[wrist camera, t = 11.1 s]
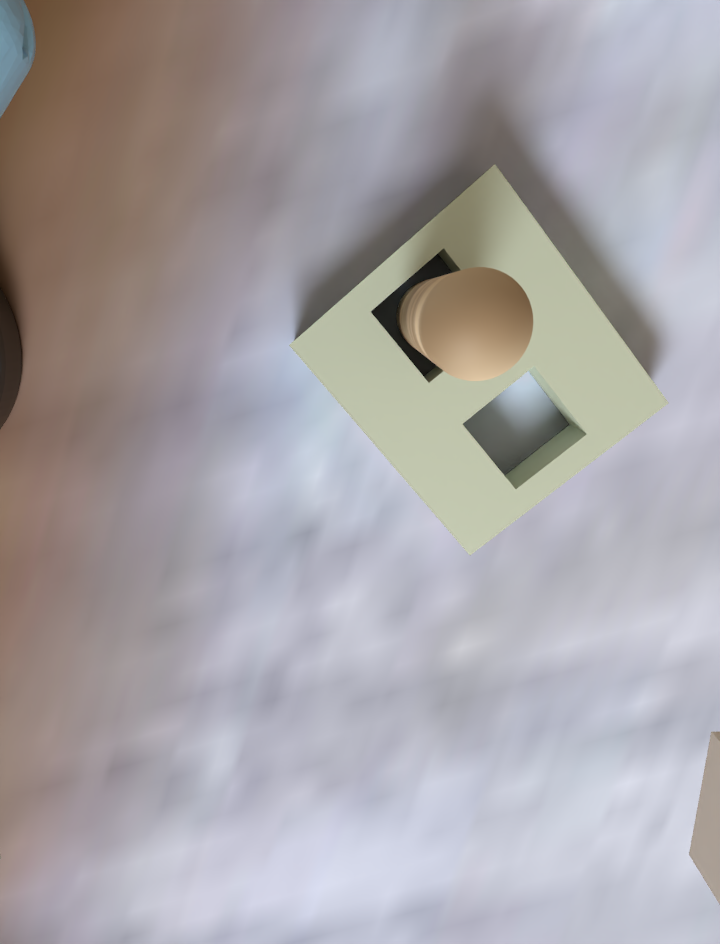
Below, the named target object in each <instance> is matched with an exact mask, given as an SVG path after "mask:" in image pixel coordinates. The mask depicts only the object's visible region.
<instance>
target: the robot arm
mask: <svg viewBox="0 0 720 944" xmlns="http://www.w3.org/2000/svg"><path fill="white" fill-rule="evenodd" d="M35 49H36V40H35V31H34V27H33V23H32V19H31V16H30V13H29V11H28V8H27V6H26V4H25V2H24V0H0V118H1V116H2V115H3V113H4V111H5V110H6V108H7V106H8V105H9V103H10V101H11V100H12V98H13V96H14V95H15V93H16V91H17V90H18V88H19V87H20V85H21V83H22V82H23V80H24V78H25V77H26V75H27V74H28V72H29V70H30V68H31V66H32V63H33V60H34V56H35ZM21 364H22V359H21V346H20V339H19V334H18V329H17V326H16V322H15V319H14V316H13V313H12V311H11V308H10V306H9V303H8V301H7V299H6V297H5V295H4V293H3V291H2V290H1V288H0V429H1V427H2V426H3V424H4V423H5V421H6V420H7V418H8V416H9V414H10V412H11V410H12V408H13V405H14V403H15V400H16V397H17V393H18V389H19V384H20V378H21ZM689 855H690V857H691V858H692V860H693V862H694V863H695V865H696V867H697V868H698V870H699V871H700V873H701V875H702V876H703V878H704V880H705V881H706V883H707V885H708V886H709V888H710V889H711V891H712V893H713V894H714V896H715V898H716V899H717V901H718V903H719V904H720V732H711V736H710V742H709V747H708V753H707V758H706V764H705V769H704V775H703V780H702V786H701V791H700V797H699V803H698V808H697V814H696V819H695V825H694V830H693V836H692V841H691V847H690V852H689ZM0 859H1V856H0Z"/></svg>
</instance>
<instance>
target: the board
mask: <svg viewBox="0 0 720 944" xmlns="http://www.w3.org/2000/svg"><path fill="white" fill-rule="evenodd" d="M437 254H438V255H439V256H440V257H441V258H442V260H443V261H444V262H445V264H446V265H447V266H448V267H449V269H450V270H451V271H452V273H453V272H457V271H460V270H464V269H468V268H473V267H487V268H493V269H496V270H499V271H501V272H504V273H506V274H507V275H509V276H510V277H512V278H513V279H514V280H515V281H517V282H518V283H519V285H520V286H521V287H522V288H523V290H524V291H525V293H526V294H527V297H528V299H529V301H530V304H531V307H532V312H533V331H532V336H531V339H530V342H529V345H528V347H527V349H526V351H525V353H524V354H523V356H522V357H521V358H520V360H519V361H518V362H517V363H516V364H515V365H514V366H513V367H512V368H511V369H509V370H508V371H506V372H505V373H503V374H501V375H499V376H497V377H495V378H492V379H488V380H483V381H467V380H462V379H459V378H456V377H453V376H451V375H449V374H448V373H446V372H444V371H443V370H442V369H441V368H439V367H438V366H436V367H435V368H433V369H432V370H431V371H430V372H429V373H427V374H426V375H425V376H423V375H422V374H421V373H420V372H419V370H418V369H417V368H416V367H415V365H414V364H413V363H412V362H411V361H410V359H409V358H408V357H407V356H406V354H405V353H404V352H403V351H402V349H401V348H400V347H399V346H398V345H397V343H396V342H395V341H394V340H393V338H392V337H391V336H390V335H389V334H388V332H387V331H386V330H385V329H384V327H383V326H382V325H381V324H380V323H379V321H378V320H377V319H376V318H375V316H374V315H373V314H372V313H371V311H372V310H373V309H374V308H375V307H377V306H378V305H379V304H380V303H381V302H382V301H383V300H385V299H386V298H387V297H388V296H389V295H390V294H392V293H393V292H394V291H395V290H396V289H397V288H398V287H400V286H401V285H402V284H403V283H404V282H405V281H407V280H408V279H409V278H410V277H411V276H412V275H413V274H415V273H416V272H417V271H418V270H419V269H420V268H422V267H423V266H424V265H425V264H426V263H427V262H428V261H430V260H431V259H432V258H433V257H434V256H435V255H437ZM289 346H290V347H291V348H292V349H293V350H294V351H295V353H296V354H297V355H298V356H299V357H300V358H301V360H302V361H303V362H304V363H305V364H306V365H307V367H308V368H309V369H310V370H311V371H312V372H313V373H314V375H315V376H316V377H317V378H318V379H319V380H320V382H321V383H322V384H323V385H324V386H325V387H326V389H327V390H328V391H329V392H330V393H331V394H332V396H333V397H334V398H335V399H336V400H337V401H338V403H339V404H340V405H341V406H342V407H343V408H344V410H345V411H346V412H347V413H348V414H349V415H350V417H351V418H352V419H353V420H354V421H355V422H356V424H357V425H358V426H359V427H360V428H361V429H362V430H363V432H364V433H365V434H366V435H367V436H368V437H369V439H370V440H371V441H372V442H373V443H374V444H375V446H376V447H377V448H378V449H379V450H380V451H381V453H382V454H383V455H384V456H385V457H386V458H387V460H388V461H389V462H390V463H391V464H392V465H393V467H394V468H395V469H396V470H397V471H398V472H399V474H400V475H401V476H402V477H403V478H404V479H405V481H406V482H407V483H408V484H409V485H410V486H411V487H412V489H413V490H414V491H415V492H416V493H417V494H418V496H419V497H420V498H421V499H422V500H423V501H424V503H425V504H426V505H427V506H428V507H429V508H430V510H431V511H432V512H433V513H434V514H435V515H436V517H437V518H438V519H439V520H440V521H441V522H442V524H443V525H444V526H445V527H446V528H447V529H448V531H449V532H450V533H451V534H452V535H453V536H454V538H455V539H456V540H457V541H458V542H459V543H460V544H461V546H462V547H463V548H464V549H465V550H466V551H467V553H468V554H469V555H471V554H472V553H474V552H475V551H476V550H478V549H479V548H480V547H482V546H483V545H484V544H486V543H487V542H488V541H489V540H491V539H492V538H493V537H495V536H496V535H497V534H499V533H500V532H501V531H502V530H504V529H505V528H506V527H508V526H509V525H510V524H512V523H513V522H514V521H516V520H517V519H518V518H519V517H521V516H522V515H523V514H525V513H526V512H527V511H529V510H530V509H531V508H532V507H534V506H535V505H536V504H538V503H539V502H540V501H542V500H543V499H544V498H545V497H547V496H548V495H549V494H551V493H552V492H553V491H555V490H556V489H557V488H559V487H560V486H561V485H562V484H564V483H565V482H566V481H568V480H569V479H570V478H572V477H573V476H574V475H575V474H577V473H578V472H579V471H581V470H582V469H583V468H585V467H586V466H587V465H589V464H590V463H591V462H592V461H594V460H595V459H596V458H598V457H599V456H600V455H602V454H603V453H604V452H605V451H607V450H608V449H609V448H611V447H612V446H613V445H615V444H616V443H617V442H618V441H620V440H621V439H622V438H624V437H625V436H626V435H628V434H629V433H630V432H632V431H633V430H634V429H635V428H637V427H638V426H639V425H641V424H642V423H643V422H645V421H646V420H647V419H648V418H650V417H651V416H652V415H654V414H655V413H656V412H658V411H659V410H660V409H662V408H663V407H664V406H665V405H667V404H668V401H667V400H666V399H665V397H664V396H663V395H662V393H661V392H660V390H659V389H658V388H657V386H656V385H655V384H654V382H653V381H652V379H651V378H650V377H649V375H648V374H647V373H646V371H645V370H644V368H643V367H642V366H641V364H640V363H639V362H638V360H637V359H636V357H635V356H634V355H633V353H632V352H631V351H630V349H629V348H628V346H627V345H626V344H625V342H624V341H623V340H622V338H621V337H620V335H619V334H618V333H617V331H616V330H615V329H614V327H613V326H612V324H611V323H610V322H609V320H608V319H607V318H606V316H605V315H604V313H603V312H602V311H601V309H600V308H599V306H598V305H597V304H596V302H595V301H594V300H593V298H592V297H591V295H590V294H589V293H588V291H587V290H586V289H585V287H584V286H583V284H582V283H581V282H580V280H579V279H578V278H577V276H576V275H575V273H574V272H573V271H572V269H571V268H570V267H569V265H568V264H567V262H566V261H565V260H564V258H563V257H562V256H561V254H560V253H559V251H558V250H557V249H556V247H555V246H554V245H553V243H552V242H551V240H550V239H549V238H548V236H547V235H546V234H545V232H544V231H543V229H542V228H541V227H540V225H539V224H538V223H537V221H536V220H535V218H534V217H533V216H532V214H531V213H530V212H529V210H528V209H527V207H526V206H525V205H524V203H523V202H522V201H521V199H520V198H519V196H518V195H517V194H516V192H515V191H514V189H513V188H512V187H511V185H510V184H509V183H508V181H507V180H506V178H505V177H504V176H503V174H502V173H501V172H500V170H499V169H498V167H497V166H496V165H495V164H494V165H493V166H492V167H491V168H490V169H489V170H488V171H487V172H485V173H484V174H483V175H482V176H481V177H480V178H479V179H477V180H476V181H475V182H474V183H473V184H472V185H471V186H469V187H468V188H467V189H466V190H465V191H464V192H463V193H462V194H460V195H459V196H458V197H457V198H456V199H455V200H454V201H452V202H451V203H450V204H449V205H448V206H447V207H446V208H444V209H443V210H442V211H441V212H440V213H439V214H438V215H437V216H435V217H434V218H433V219H432V220H431V221H430V222H429V223H427V224H426V225H425V226H424V227H423V228H422V229H421V230H419V231H418V232H417V233H416V234H415V235H414V236H413V237H412V238H410V239H409V240H408V241H407V242H406V243H405V244H404V245H402V246H401V247H400V248H399V249H398V250H397V251H396V252H394V253H393V254H392V255H391V256H390V257H389V258H388V259H386V260H385V261H384V262H383V263H382V264H381V265H380V266H379V267H377V268H376V269H375V270H374V271H373V272H372V273H371V274H369V275H368V276H367V277H366V278H365V279H364V280H363V281H361V282H360V283H359V284H358V285H357V286H356V287H355V288H354V289H352V290H351V291H350V292H349V293H348V294H347V295H346V296H344V297H343V298H342V299H341V300H340V301H339V302H338V303H336V304H335V305H334V306H333V307H332V308H331V309H330V310H329V311H327V312H326V313H325V314H324V315H323V316H322V317H321V318H319V319H318V320H317V321H316V322H315V323H314V324H313V325H311V326H310V327H309V328H308V329H307V330H306V331H305V332H304V333H302V334H301V335H300V336H299V337H298V338H297V339H296V340H294V341H293V342H292V343H291V344H290V345H289ZM527 371H529V372H530V374H531V375H532V376H533V377H534V379H535V380H536V381H537V383H538V384H539V385H540V386H541V388H542V389H543V390H544V392H545V393H546V394H547V396H548V397H549V398H550V399H551V401H552V402H553V403H554V405H555V406H556V407H557V408H558V410H559V411H560V412H561V414H562V415H563V416H564V418H565V419H566V420H567V421H568V423H569V424H570V425H569V426H567V427H566V428H565V429H563V430H562V431H561V432H560V433H558V434H557V435H556V436H554V437H553V438H552V439H551V440H549V441H548V442H547V443H546V444H544V445H543V446H542V447H540V448H539V449H538V450H537V451H535V452H534V453H533V454H532V455H530V456H529V457H528V458H526V459H525V460H524V461H523V462H521V463H520V464H519V465H517V466H516V467H515V468H514V469H512V470H511V471H510V472H509V473H507V474H506V475H505V476H504V474H503V473H502V472H501V471H500V469H499V468H498V467H497V466H496V465H495V463H494V462H493V461H492V460H491V458H490V457H489V456H488V455H487V454H486V452H485V451H484V450H483V449H482V447H481V446H480V445H479V444H478V443H477V441H476V440H475V439H474V438H473V436H472V435H471V434H470V433H469V432H468V430H467V429H466V428H465V427H464V425H463V423H464V422H466V421H467V420H468V419H469V418H471V417H472V416H473V415H474V414H475V413H477V412H478V411H479V410H480V409H482V408H483V407H484V406H485V405H487V404H488V403H489V402H490V401H492V400H493V399H494V398H495V397H496V396H498V395H499V394H500V393H501V392H503V391H504V390H505V389H506V388H508V387H509V386H510V385H511V384H513V383H514V382H515V381H516V380H518V379H519V378H520V377H521V376H522V375H524V374H525V373H526V372H527Z"/></svg>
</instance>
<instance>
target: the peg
mask: <svg viewBox="0 0 720 944" xmlns="http://www.w3.org/2000/svg"><path fill="white" fill-rule="evenodd" d="M396 320H397V326H398V329H399V331H400V333H401V335H402V337H403V338H404V339H405V340H406V341H407V342H408V343H409V344H410V345H411V346H412V347H413V348H415V349H416V350H418V351H419V352H420V353H422V354H423V355H424V356H425V357H427V358H428V359H429V360H430V361H432V362H433V363H434V364H436V365H437V366H438V367H439V368H441V369H442V370H443V371H444V372H446V373H448V374H449V375H451V376H453V377H456V378H459V379H462V380H467V381H483V380H488V379H492V378H495V377H497V376H499V375H501V374H503V373H505V372H506V371H508V370H509V369H511V368H512V367H513V366H514V365H515V364H516V363H517V362H518V361H519V360H520V358H521V357H522V356H523V354H524V353H525V351H526V349H527V347H528V345H529V342H530V339H531V336H532V331H533V312H532V307H531V304H530V301H529V299H528V297H527V294H526V293H525V291H524V290H523V288H522V287H521V286H520V285H519V283H518V282H517V281H515V280H514V279H513V278H512V277H510V276H509V275H507V274H506V273H504V272H501V271H499V270H496V269H493V268H487V267H473V268H468V269H464V270H460V271H457V272H453V273H450V274H446V275H443V276H440V277H436V278H432V279H428V280H425V281H422V282H420V283H417V284H415V285H413V286H412V287H411V288H409V289H408V290H407V291H406V292H405V293H404V295H403V296H402V298H401V299H400V302H399V304H398V307H397V313H396Z"/></svg>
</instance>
